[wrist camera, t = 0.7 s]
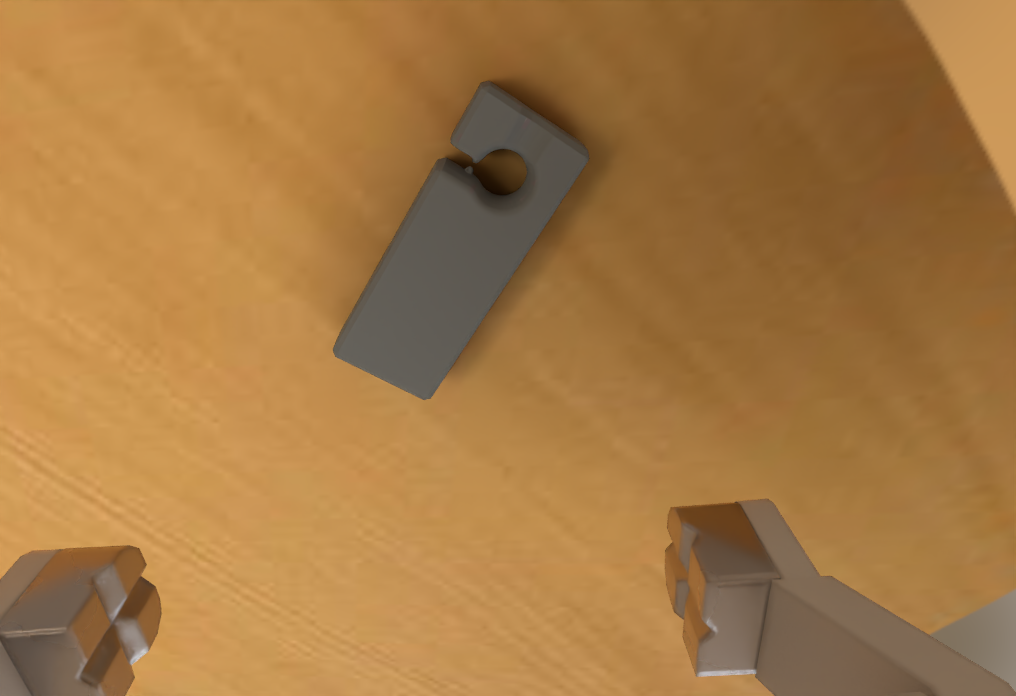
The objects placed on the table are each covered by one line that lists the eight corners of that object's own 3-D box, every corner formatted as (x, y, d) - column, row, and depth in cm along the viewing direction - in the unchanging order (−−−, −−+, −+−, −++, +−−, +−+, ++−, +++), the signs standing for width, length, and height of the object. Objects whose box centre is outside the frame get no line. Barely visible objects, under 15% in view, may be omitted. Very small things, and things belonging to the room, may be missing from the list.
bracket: (338, 331, 24) (328, 357, 22) (482, 75, 20) (484, 81, 19) (431, 378, 25) (428, 405, 24) (584, 143, 22) (595, 154, 20)
